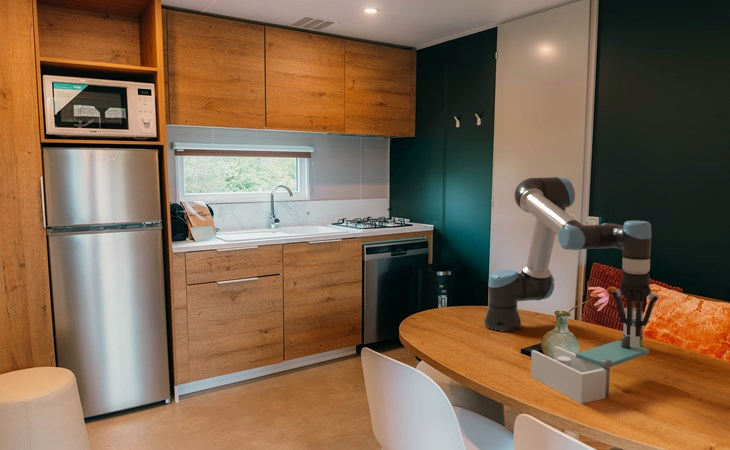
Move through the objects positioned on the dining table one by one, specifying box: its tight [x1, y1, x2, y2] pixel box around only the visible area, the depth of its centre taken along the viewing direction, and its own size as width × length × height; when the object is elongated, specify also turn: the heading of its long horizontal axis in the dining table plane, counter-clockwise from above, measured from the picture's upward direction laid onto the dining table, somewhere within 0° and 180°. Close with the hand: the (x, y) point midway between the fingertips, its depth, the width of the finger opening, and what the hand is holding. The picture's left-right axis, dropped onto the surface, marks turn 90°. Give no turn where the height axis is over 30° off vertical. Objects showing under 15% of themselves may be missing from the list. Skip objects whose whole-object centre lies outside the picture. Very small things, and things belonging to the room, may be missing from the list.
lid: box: [575, 334, 650, 368], centre depth 159 cm, size 11×22×5 cm, turn 122°
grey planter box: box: [530, 345, 611, 405], centre depth 158 cm, size 11×22×9 cm, turn 22°
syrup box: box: [622, 307, 644, 347], centre depth 191 cm, size 6×6×14 cm
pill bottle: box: [557, 356, 572, 368], centre depth 160 cm, size 5×5×8 cm
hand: (633, 345), depth 162 cm, fingers closed
